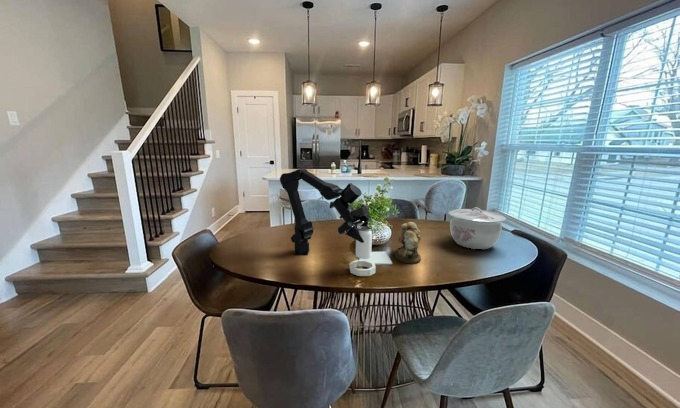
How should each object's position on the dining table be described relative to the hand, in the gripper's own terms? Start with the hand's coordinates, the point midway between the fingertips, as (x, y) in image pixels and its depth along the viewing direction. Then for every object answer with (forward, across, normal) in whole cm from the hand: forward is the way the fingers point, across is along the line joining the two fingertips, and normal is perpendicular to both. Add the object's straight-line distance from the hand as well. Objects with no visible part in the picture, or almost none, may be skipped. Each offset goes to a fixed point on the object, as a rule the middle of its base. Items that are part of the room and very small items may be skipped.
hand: (367, 240), depth 117 cm
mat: (+7, +14, +12) cm, 19 cm away
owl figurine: (+15, +25, +4) cm, 30 cm away
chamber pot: (+32, +61, -13) cm, 70 cm away
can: (+4, 0, +6) cm, 7 cm away
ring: (+8, -1, +10) cm, 13 cm away
